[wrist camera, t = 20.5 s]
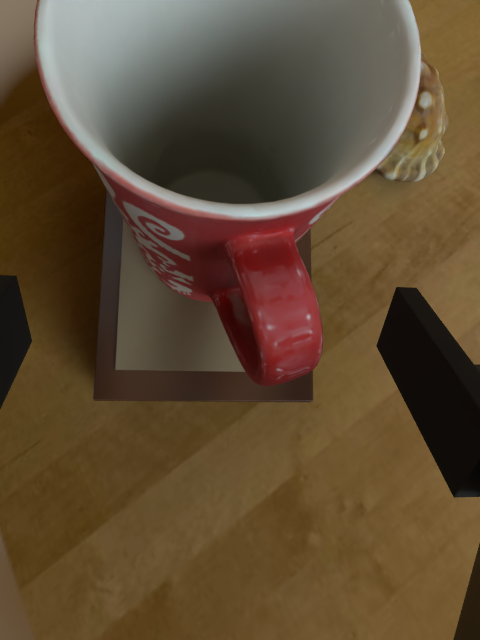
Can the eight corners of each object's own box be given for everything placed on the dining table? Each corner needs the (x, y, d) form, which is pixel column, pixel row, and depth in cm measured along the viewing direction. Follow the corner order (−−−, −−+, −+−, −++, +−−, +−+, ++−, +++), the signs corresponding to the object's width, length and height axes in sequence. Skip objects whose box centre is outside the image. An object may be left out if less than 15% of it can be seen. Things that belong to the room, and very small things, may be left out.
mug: (108, 163, 23) (6, -130, 10) (275, 144, 25) (377, -140, 11) (147, 404, 22) (86, 429, 9) (323, 369, 23) (508, 344, 10)
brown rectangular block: (108, 398, 26) (92, 400, 21) (121, 174, 28) (108, 132, 24) (293, 400, 27) (314, 402, 23) (291, 185, 30) (310, 147, 25)
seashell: (335, 223, 33) (300, 152, 24) (306, 134, 35) (263, 38, 26) (468, 171, 30) (486, 66, 21) (426, 77, 32) (425, -54, 23)
